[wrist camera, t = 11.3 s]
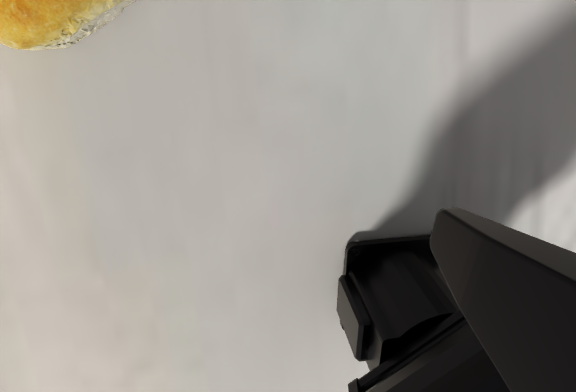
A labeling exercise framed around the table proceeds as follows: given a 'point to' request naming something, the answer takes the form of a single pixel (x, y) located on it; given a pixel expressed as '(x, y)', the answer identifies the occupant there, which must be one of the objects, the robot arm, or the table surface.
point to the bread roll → (53, 21)
